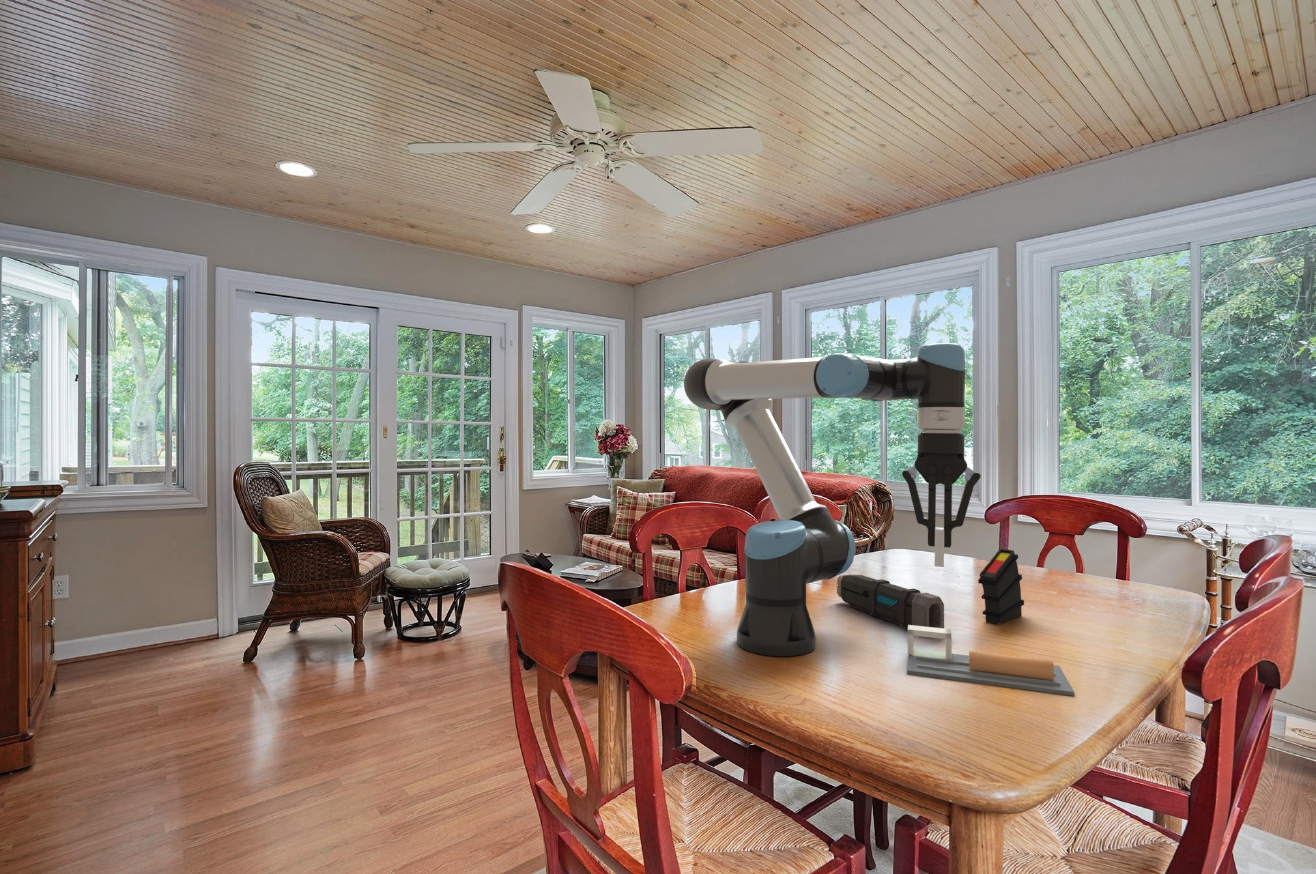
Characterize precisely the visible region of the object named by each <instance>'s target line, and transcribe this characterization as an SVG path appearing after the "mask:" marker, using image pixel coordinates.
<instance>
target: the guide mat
mask: <svg viewBox="0 0 1316 874" xmlns="http://www.w3.org/2000/svg"><path fill="white" fill-rule="evenodd" d="M1053 666H1054V681H1048V680H1040V679H1032V678H1024V677H1016V676H1008V675H1000V674H992V673H984V672H976V671H970V669H969V654H959V653H952V659H946V652H942V651H933V650H925V649H916V648H914V652H913V655H911V654H908V659H907V670H906V672H907V675H914V676H922V677H928V678H937V679H943V680H949V681H950V680H951V681H959V682H960V681H961V682H967V683H974V684H981V685H990V686H998V687H1005V688H1012V689H1021V690H1028V691H1033V692H1042V693H1050V694H1057V695H1065V696H1066V695H1067V696H1073V697H1074V696H1075V691H1074V689H1073V687H1072V685H1071V684H1070V681H1069V680H1068V678H1067V677H1066V675H1065V673H1064V672H1063V670H1062V668H1061V666H1060V665H1055V664H1053Z"/></svg>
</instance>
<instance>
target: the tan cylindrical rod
mask: <svg viewBox="0 0 1316 874" xmlns="http://www.w3.org/2000/svg"><path fill="white" fill-rule="evenodd" d="M968 655H969V669H970V671H976V672H984V673H992V674H1000V675H1008V676H1016V677H1024V678H1032V679H1040V680H1048V681H1054V666H1055V665H1054V662H1053V660H1049V659H1042V658H1041V659H1040V658H1034V657H1033V658H1032V657H1024V656H1015V655H1006V654H1000V653H989V652H983V651H974V650H973V651H972V650H969V652H968ZM1053 665H1054V666H1053Z"/></svg>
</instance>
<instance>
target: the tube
mask: <svg viewBox="0 0 1316 874" xmlns="http://www.w3.org/2000/svg"><path fill="white" fill-rule="evenodd" d="M837 577H838V578H837V581H836V584H837V586H836V593H837V596H838V597H840V599H841V600H842V601H843V602H844V603H846V604H847V605H849V606H850V607H852V608H855V609H857V610H859V611H863V612H865V613H868V614H870V615H871V616H872V617H874V618H877V619H884V620H887V621H889V622H891V623H894V624H897V625H900V626H901V627H902V628H903V629H905V630H908V625H914V626H924V627H934V628H943V629H945V604H944V602H943V600H942V598H941V597H940V596H939V595H936V594H932V593H929V592H921V591H920V589H917V588H906V587H903V586H900V585H895V584H893V583H891V582H890V581H889V580H887V579H875V578H872V577H870V576H865V575H863V574H840V575H838V576H837Z"/></svg>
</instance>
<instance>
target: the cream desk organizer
mask: <svg viewBox="0 0 1316 874" xmlns="http://www.w3.org/2000/svg"><path fill="white" fill-rule="evenodd" d="M915 636H916V637H925V638H933V639H942V640H945V653H946V659H952V654H953V653H952V649H953V648H952V646H953V645H952V642H953V641H952V629H951V628H944V629H943V628H934V627H924V626H914V625H908V629H907V655H909V654H911V655H913V652H914V649H915V648H914V642H915V641H914V640H915V639H914V637H915Z"/></svg>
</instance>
